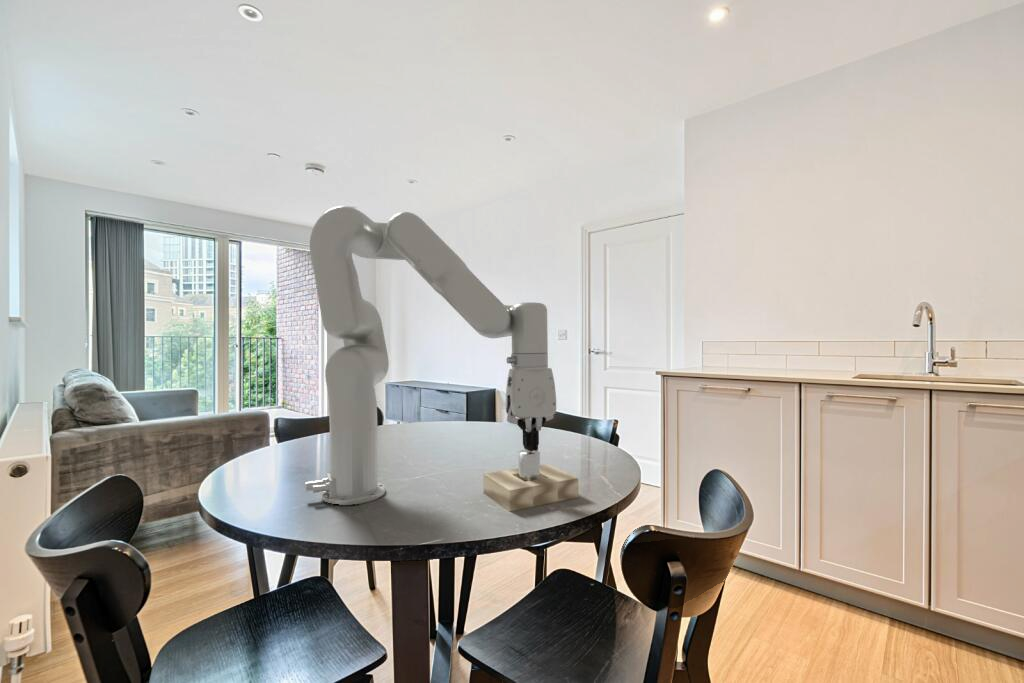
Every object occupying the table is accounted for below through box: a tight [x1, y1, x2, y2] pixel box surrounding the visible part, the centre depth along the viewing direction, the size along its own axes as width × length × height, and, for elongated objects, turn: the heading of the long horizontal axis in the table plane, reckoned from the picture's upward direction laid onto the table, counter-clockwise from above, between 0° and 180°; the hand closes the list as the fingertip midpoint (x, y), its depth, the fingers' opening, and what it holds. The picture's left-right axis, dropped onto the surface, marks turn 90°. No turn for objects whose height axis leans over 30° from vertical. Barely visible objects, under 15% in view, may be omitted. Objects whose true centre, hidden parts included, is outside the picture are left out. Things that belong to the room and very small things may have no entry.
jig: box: [482, 463, 579, 512], centre depth 94 cm, size 16×12×4 cm
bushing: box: [518, 449, 541, 482], centre depth 94 cm, size 4×4×9 cm
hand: (530, 449), depth 94 cm, fingers closed
